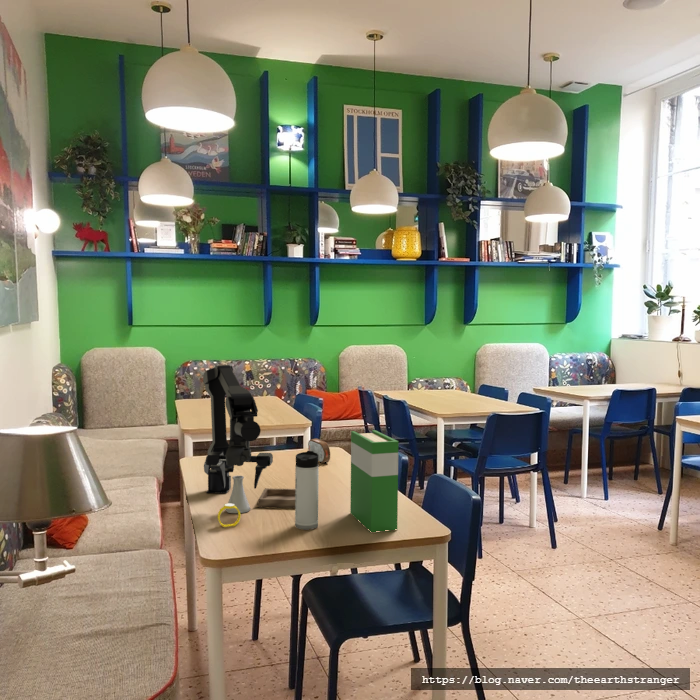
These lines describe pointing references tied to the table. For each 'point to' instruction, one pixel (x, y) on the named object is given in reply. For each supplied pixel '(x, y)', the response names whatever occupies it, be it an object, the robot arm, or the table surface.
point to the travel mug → (306, 490)
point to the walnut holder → (277, 498)
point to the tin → (320, 449)
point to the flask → (238, 496)
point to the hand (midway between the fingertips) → (239, 487)
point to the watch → (229, 508)
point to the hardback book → (374, 480)
